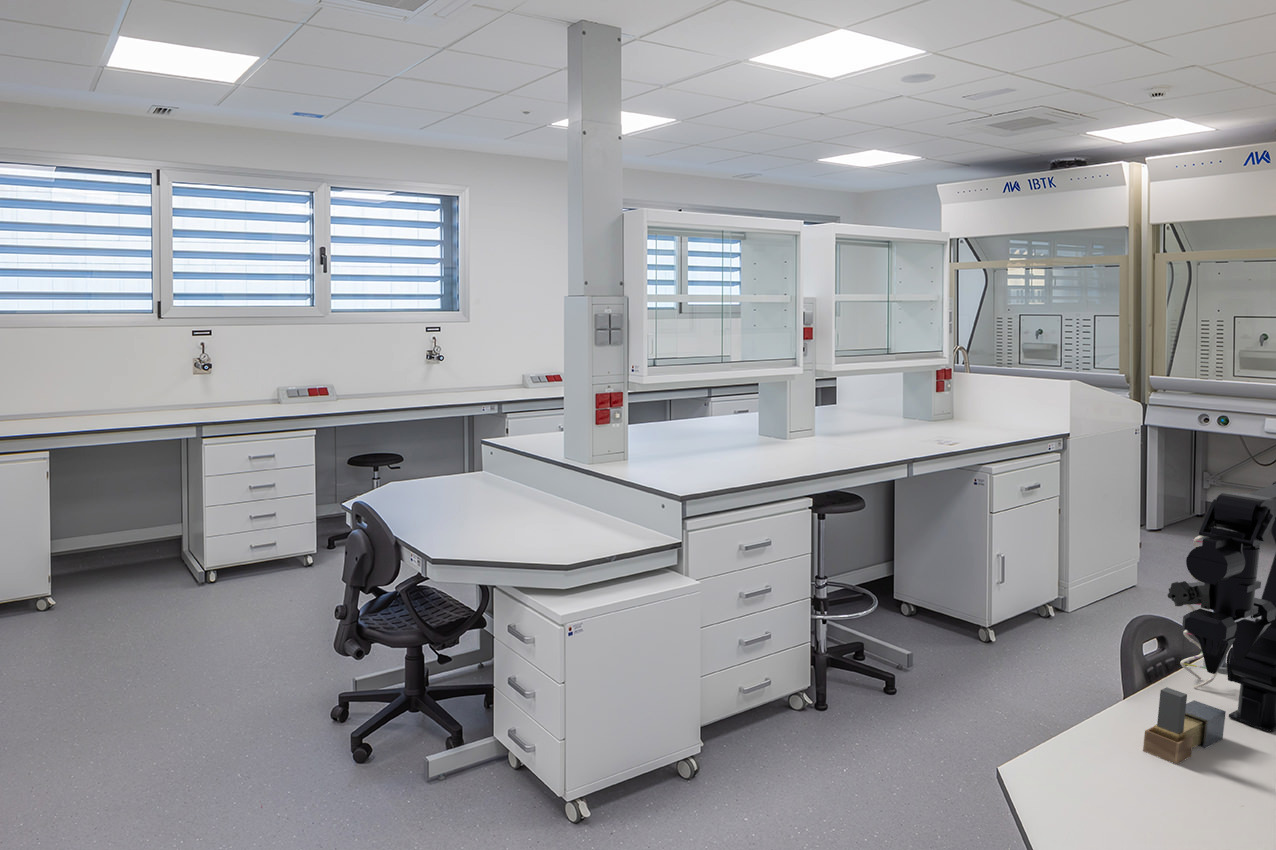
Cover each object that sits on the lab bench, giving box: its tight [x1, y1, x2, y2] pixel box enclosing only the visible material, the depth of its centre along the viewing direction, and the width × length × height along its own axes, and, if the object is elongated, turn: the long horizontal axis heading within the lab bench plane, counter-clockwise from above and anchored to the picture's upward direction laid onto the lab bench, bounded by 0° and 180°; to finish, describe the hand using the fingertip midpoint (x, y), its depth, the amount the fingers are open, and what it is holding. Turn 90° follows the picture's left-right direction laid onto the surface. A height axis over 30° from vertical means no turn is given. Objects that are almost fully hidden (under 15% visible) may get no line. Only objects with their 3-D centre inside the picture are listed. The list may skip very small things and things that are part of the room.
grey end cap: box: [1185, 699, 1227, 749], centre depth 141 cm, size 6×5×5 cm
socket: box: [1142, 726, 1193, 765], centre depth 136 cm, size 5×5×3 cm
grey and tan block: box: [1153, 686, 1206, 749], centre depth 137 cm, size 9×4×10 cm, turn 123°
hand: (1224, 666), depth 138 cm, fingers open, 9 cm apart
